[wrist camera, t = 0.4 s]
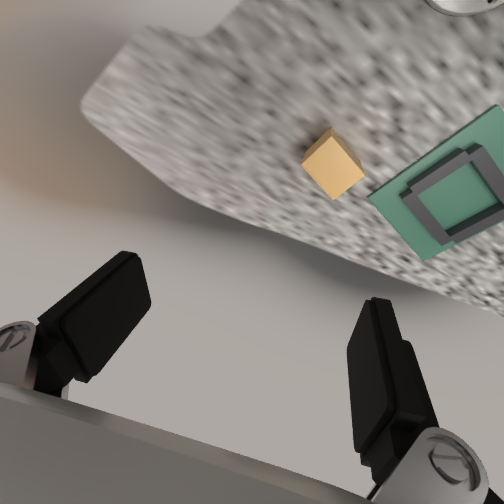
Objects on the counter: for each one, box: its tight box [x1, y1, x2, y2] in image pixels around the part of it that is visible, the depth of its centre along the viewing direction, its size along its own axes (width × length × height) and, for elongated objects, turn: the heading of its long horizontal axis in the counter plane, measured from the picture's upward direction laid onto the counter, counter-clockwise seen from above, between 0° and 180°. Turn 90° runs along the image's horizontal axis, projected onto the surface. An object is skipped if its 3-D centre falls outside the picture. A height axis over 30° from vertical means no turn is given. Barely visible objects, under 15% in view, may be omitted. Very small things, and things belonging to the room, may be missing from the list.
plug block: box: [301, 127, 365, 200], centre depth 33 cm, size 4×6×7 cm
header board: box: [368, 105, 504, 261], centre depth 34 cm, size 16×14×2 cm
